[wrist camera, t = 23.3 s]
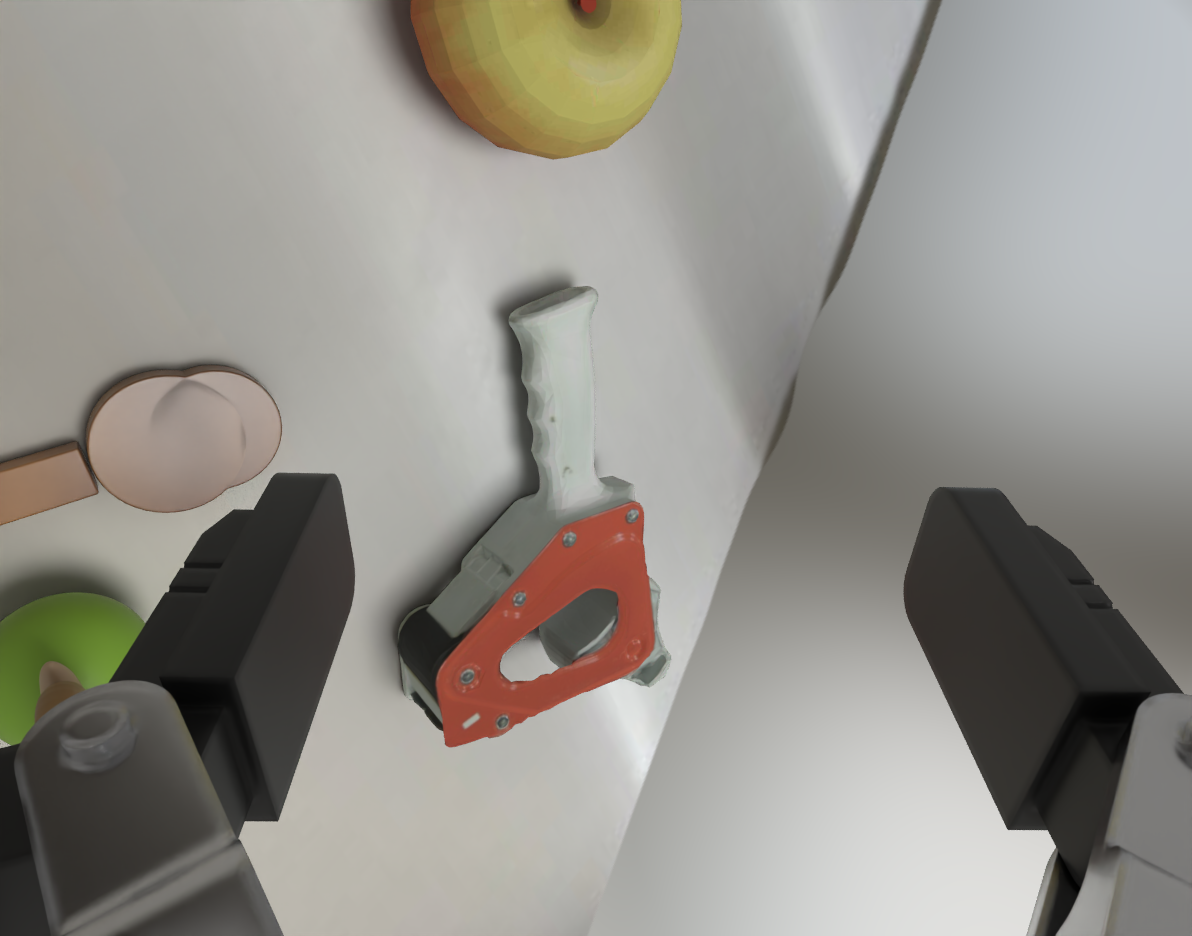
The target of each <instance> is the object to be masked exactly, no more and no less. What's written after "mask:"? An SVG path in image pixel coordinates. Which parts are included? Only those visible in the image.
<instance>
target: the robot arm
mask: <svg viewBox="0 0 1192 936" xmlns="http://www.w3.org/2000/svg"><path fill="white" fill-rule="evenodd" d="M354 586H355V568H354V560H353V554H352V548H351V542H350V536H349V530H348V524H347V518H346V512H345V506H344V500H343V494H342V489H341V484H340V481H339V479H338V477H337V476H336V475H335V474H320V473H276V474H275V475H274V476H273V477H272V478H271V480H270V482H269V484H268V485H267V487H266V489H265V491H264V492H263V494H262V496H261V498H260V499H259V501H258V503H257V505H256V506H255V508H254V510H235V509H234V510H233V511H231V512H230V513H229V514H227V515H226V516H225V517H224V518H222V519H221V520H220V521H218V522H217V523H216V524H214V525H213V526H212V527H211V528H209V529H208V530H207V531H205V532H204V533H203V534H202V535H201V537H200V538H199V540H198V541H197V543H196V545H195V546H194V548H193V549H192V551H191V552H190V554H189V556H188V557H187V559H186V560H185V562H184V568H180V570H179V572H178V573H177V575H176V576H175V578H174V579H173V581H172V583H171V584H170V586H169V588H170V589H169V592H165V594H164V595H163V597H162V598H161V600H160V602H159V603H158V605H157V606H156V608H155V610H154V611H153V613H152V614H151V616H150V618H149V619H148V621H147V622H146V624H145V625H144V627H143V629H142V630H141V632H140V633H139V635H138V637H137V638H136V640H135V641H134V643H133V644H132V646H131V648H130V649H129V651H128V652H127V654H126V656H125V657H124V659H123V660H122V662H121V664H120V665H119V667H118V668H117V670H116V671H115V673H114V675H113V676H112V678H111V679H110V681H109V683H106V684H102V685H98V686H95V687H92V688H89V689H87V690H84V691H82V692H80V693H77V694H75V695H73V696H71V697H69V698H68V699H66V700H64V701H62V702H61V703H59V704H58V705H56V706H55V707H53V708H52V709H51V710H49V711H48V712H47V713H45V714H44V715H43V716H42V717H41V718H40V719H39V720H38V721H37V722H36V723H35V724H34V725H33V726H32V727H31V729H30V730H29V731H28V732H27V733H26V735H25V737H24V738H23V740H22V741H21V743H19V744H15V745H12V746H8V747H4V748H0V936H284V935H283V933H282V931H281V928H280V926H279V924H278V922H277V919H276V917H275V915H274V913H273V911H272V908H271V906H270V904H269V902H268V899H267V897H266V895H265V893H264V890H263V888H262V886H261V884H260V882H259V879H258V877H257V875H256V873H255V870H254V868H253V866H252V864H251V862H250V859H249V857H248V855H247V853H246V851H245V849H244V847H243V845H242V843H241V841H240V840H239V839H238V837H239V835H240V832H241V829H242V827H243V824H244V822H245V821H278V820H279V817H280V814H281V811H282V808H283V805H284V802H285V800H286V797H287V794H288V791H289V788H290V785H291V782H292V779H293V776H294V773H295V770H296V767H297V764H298V762H299V759H300V756H301V753H302V750H303V747H304V744H305V741H306V738H307V735H308V732H309V729H310V726H311V724H312V721H313V718H314V715H315V712H316V709H317V706H318V703H319V700H320V697H321V694H322V691H323V689H324V686H325V683H326V680H327V677H328V674H329V671H330V668H331V665H332V662H333V659H334V656H335V653H336V651H337V648H338V645H339V642H340V639H341V636H342V633H343V630H344V627H345V624H346V621H347V618H348V615H349V613H350V609H351V606H352V601H353V595H354ZM904 602H905V609H906V613H907V616H908V619H909V621H910V624H911V626H912V628H913V630H914V632H915V634H916V636H917V638H918V641H919V642H920V645H921V647H922V649H923V651H924V653H925V655H926V657H927V660H928V662H929V664H930V666H931V668H932V670H933V672H934V674H935V677H936V679H937V681H938V683H939V685H940V687H941V689H942V691H943V694H944V696H945V698H946V700H947V702H948V704H949V706H950V708H951V711H952V713H953V715H954V717H955V719H956V721H957V723H958V725H959V728H960V729H961V732H962V734H963V736H964V738H965V740H966V742H967V744H968V746H969V749H970V750H971V753H972V755H973V757H974V759H975V761H976V764H977V766H978V768H979V770H980V772H981V774H982V776H983V778H984V781H985V783H986V785H987V787H988V789H989V791H990V793H991V795H992V798H993V800H994V802H995V804H996V806H997V808H998V810H999V812H1000V814H1001V817H1002V819H1003V821H1004V823H1005V825H1006V827H1007V829H1008V830H1048V831H1049V834H1050V835H1051V837H1052V839H1053V841H1054V843H1055V845H1056V849H1055V850H1054V852H1053V853H1052V855H1051V857H1050V859H1049V861H1048V864H1047V866H1046V869H1045V873H1044V876H1043V880H1042V883H1041V887H1040V890H1039V894H1038V897H1037V900H1036V904H1035V907H1034V911H1033V914H1032V918H1031V921H1030V925H1029V928H1028V932H1027V935H1026V936H1192V695H1187V694H1184V693H1183V692H1182V691H1181V690H1180V688H1179V687H1178V686H1177V685H1176V683H1175V682H1174V680H1173V679H1172V678H1171V677H1170V675H1169V674H1168V673H1167V672H1166V670H1165V669H1164V668H1163V666H1162V665H1161V664H1160V663H1159V661H1158V660H1157V659H1156V658H1155V656H1154V655H1153V654H1152V653H1151V651H1150V650H1149V649H1148V648H1147V646H1146V645H1145V644H1144V642H1143V641H1142V640H1141V639H1140V637H1139V636H1138V635H1137V633H1136V632H1135V631H1134V630H1133V628H1132V627H1131V626H1130V625H1129V623H1128V622H1127V621H1126V619H1125V618H1124V617H1123V616H1122V614H1121V613H1120V612H1119V610H1118V609H1113V608H1112V604H1113V603H1112V602H1111V600H1110V599H1109V598H1108V596H1107V595H1106V594H1105V593H1104V591H1103V590H1102V589H1101V588H1100V586H1099V585H1094V579H1093V577H1092V576H1091V575H1090V574H1089V572H1088V571H1087V570H1086V569H1085V567H1084V566H1083V565H1082V564H1081V562H1080V561H1079V560H1078V558H1077V557H1076V556H1075V555H1074V553H1073V552H1072V551H1071V550H1070V549H1068V548H1067V547H1066V546H1064V545H1063V544H1061V543H1060V542H1059V541H1057V540H1056V539H1054V538H1053V537H1052V536H1050V535H1049V534H1047V533H1046V532H1045V531H1043V530H1042V529H1040V528H1039V527H1038V526H1027V524H1026V523H1025V522H1024V520H1023V519H1022V518H1021V517H1020V515H1019V514H1018V512H1017V511H1016V510H1015V508H1014V507H1013V506H1012V504H1011V503H1010V502H1009V500H1008V499H1007V497H1006V496H1005V495H1004V494H1003V493H1002V492H1001V491H1000V490H998V489H996V488H955V487H954V488H953V487H939V488H937V489H936V490H935V491H934V492H933V493H932V495H931V497H930V499H929V501H928V504H927V507H926V510H925V513H924V517H923V520H922V523H921V526H920V529H919V533H918V536H917V539H916V542H915V545H914V548H913V552H912V555H911V558H910V561H909V564H908V567H907V571H906V575H905V580H904Z"/></svg>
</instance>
